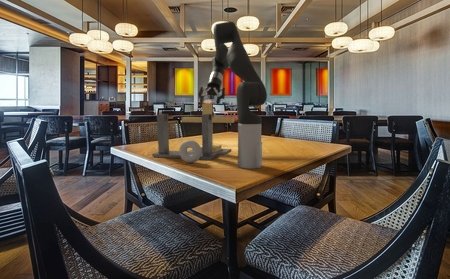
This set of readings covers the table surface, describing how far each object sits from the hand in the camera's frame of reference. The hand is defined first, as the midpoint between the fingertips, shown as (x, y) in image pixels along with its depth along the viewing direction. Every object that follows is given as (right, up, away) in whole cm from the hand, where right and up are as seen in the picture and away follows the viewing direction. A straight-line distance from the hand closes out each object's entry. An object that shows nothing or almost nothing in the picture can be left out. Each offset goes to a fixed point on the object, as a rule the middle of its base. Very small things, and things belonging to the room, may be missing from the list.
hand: (209, 102), depth 138 cm
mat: (0, -26, 0) cm, 26 cm away
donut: (-7, -30, -26) cm, 40 cm away
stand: (-11, -28, -12) cm, 32 cm away
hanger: (-1, -25, +1) cm, 25 cm away
